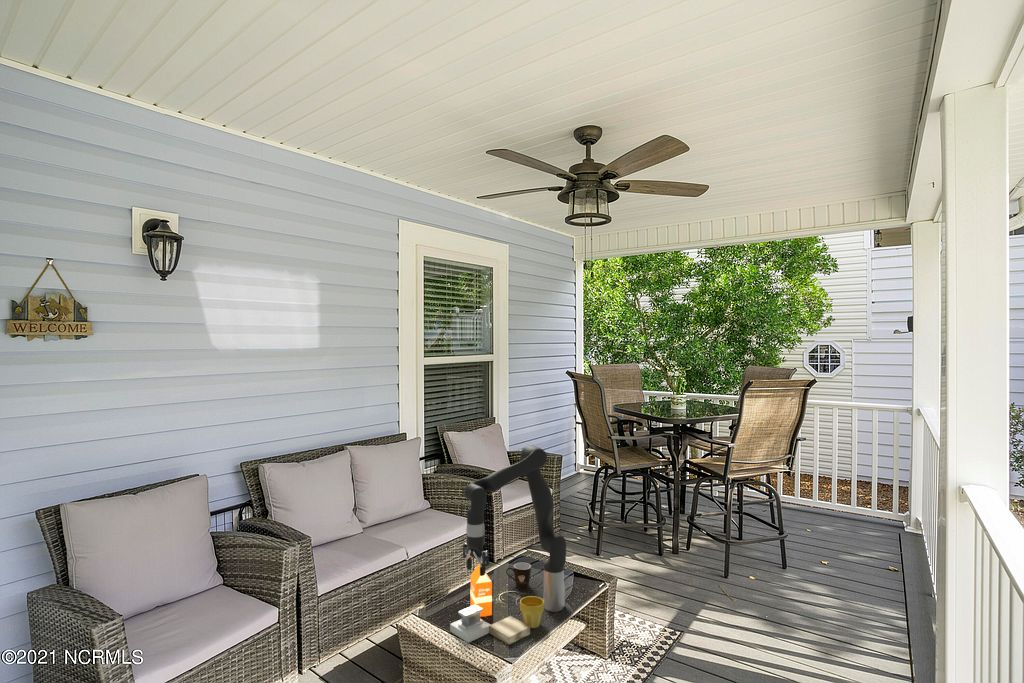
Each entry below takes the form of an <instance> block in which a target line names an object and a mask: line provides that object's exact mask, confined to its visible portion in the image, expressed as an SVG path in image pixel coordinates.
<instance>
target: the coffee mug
mask: <svg viewBox="0 0 1024 683" xmlns="http://www.w3.org/2000/svg"><path fill="white" fill-rule="evenodd" d="M509 570H512V572H513V573H514V577H513V576H511V575H510V574H509V573H508V571H509ZM531 572H532V565H531V564H530V563H527V562H517V563H515V564H513V568H512V567H508V568H506V571H505V573H506V575H507V576H508V577H509V578H510V579H512V580H513V581H514V582H515V588H516V589H518V590H527V589H529V586H530V581H531V580H530V579H531Z"/></svg>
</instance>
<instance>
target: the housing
mask: <svg viewBox="0 0 1024 683" xmlns="http://www.w3.org/2000/svg"><path fill="white" fill-rule="evenodd" d="M480 612H483V608H481V607H480V606H478V605H476V604H475V605H472V606H468V607H466V608H463V609H461V610H459V611H458V615H459V616H460V619H461V622H459V623H458V626H459V627H461V628H462V629H464V630H468V629H471V628H473V627H475V626H477V625H479V624H482V623H483V619H482V618H481V617H480Z"/></svg>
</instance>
